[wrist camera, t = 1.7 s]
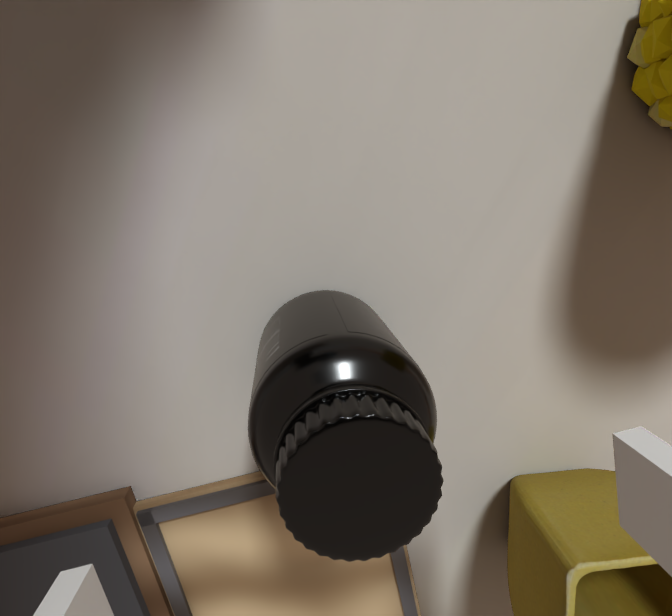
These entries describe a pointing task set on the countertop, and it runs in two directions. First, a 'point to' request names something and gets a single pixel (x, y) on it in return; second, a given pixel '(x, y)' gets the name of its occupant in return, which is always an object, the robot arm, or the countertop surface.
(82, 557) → the pad
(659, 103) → the food
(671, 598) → the flower pot
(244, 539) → the board
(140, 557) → the ink tray
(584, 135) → the countertop surface
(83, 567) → the robot arm
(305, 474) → the supplement bottle
